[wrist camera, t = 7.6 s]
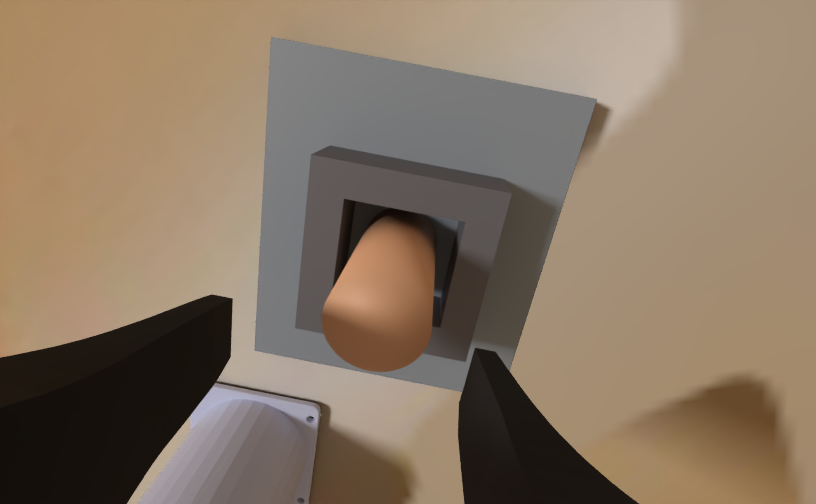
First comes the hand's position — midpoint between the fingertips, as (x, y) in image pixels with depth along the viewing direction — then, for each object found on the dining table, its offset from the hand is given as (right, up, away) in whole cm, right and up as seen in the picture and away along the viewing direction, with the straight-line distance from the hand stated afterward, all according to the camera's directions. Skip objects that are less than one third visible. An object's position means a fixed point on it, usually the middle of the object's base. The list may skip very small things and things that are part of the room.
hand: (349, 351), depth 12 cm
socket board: (+1, +4, +9) cm, 10 cm away
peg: (+1, +3, +8) cm, 9 cm away
